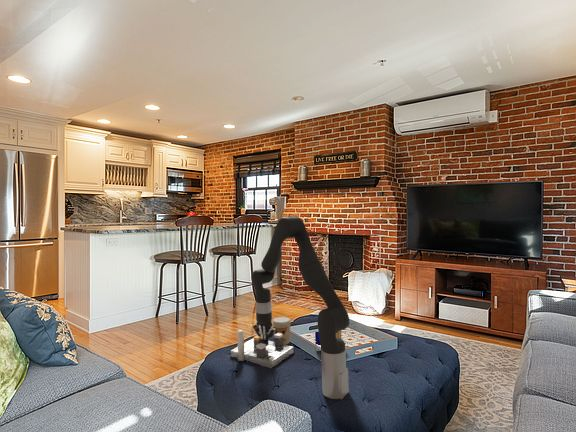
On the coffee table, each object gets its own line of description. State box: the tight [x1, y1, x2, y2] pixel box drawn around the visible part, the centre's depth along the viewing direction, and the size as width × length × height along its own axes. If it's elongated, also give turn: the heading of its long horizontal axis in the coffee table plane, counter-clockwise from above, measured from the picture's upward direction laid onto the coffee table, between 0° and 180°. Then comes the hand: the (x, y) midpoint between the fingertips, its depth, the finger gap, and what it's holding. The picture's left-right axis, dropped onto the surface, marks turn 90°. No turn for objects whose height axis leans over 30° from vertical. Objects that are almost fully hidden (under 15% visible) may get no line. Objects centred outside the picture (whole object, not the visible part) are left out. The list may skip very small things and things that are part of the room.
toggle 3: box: [273, 333, 283, 347], centre depth 180 cm, size 3×3×5 cm
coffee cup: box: [272, 316, 292, 345], centre depth 192 cm, size 9×9×12 cm
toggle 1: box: [252, 334, 262, 348], centre depth 179 cm, size 3×3×5 cm
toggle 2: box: [256, 343, 266, 358], centre depth 169 cm, size 3×3×5 cm
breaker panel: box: [230, 338, 294, 369], centre depth 178 cm, size 24×18×3 cm
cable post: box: [236, 329, 245, 362], centre depth 172 cm, size 4×4×14 cm
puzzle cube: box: [314, 329, 343, 345], centre depth 181 cm, size 10×10×10 cm
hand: (265, 345), depth 177 cm, fingers closed
